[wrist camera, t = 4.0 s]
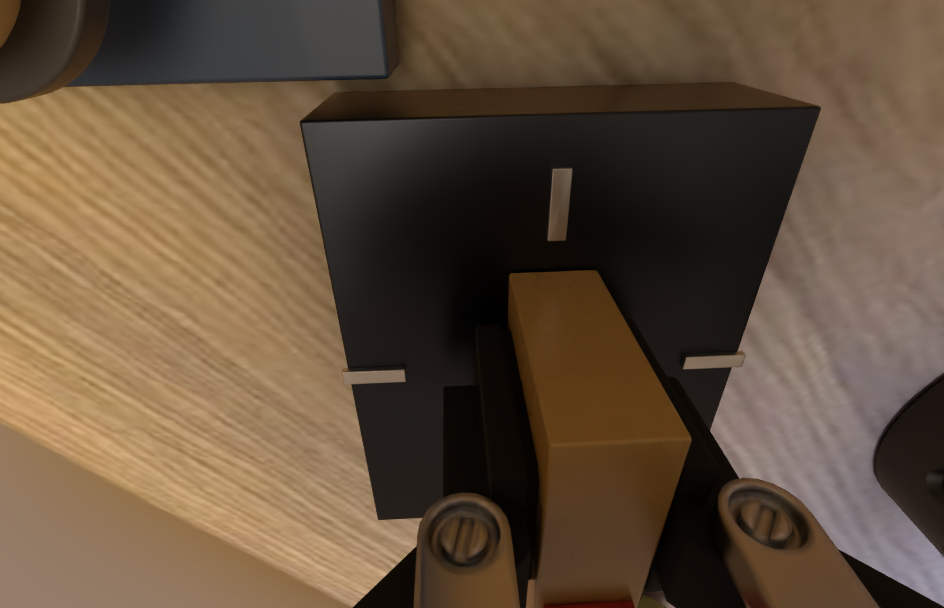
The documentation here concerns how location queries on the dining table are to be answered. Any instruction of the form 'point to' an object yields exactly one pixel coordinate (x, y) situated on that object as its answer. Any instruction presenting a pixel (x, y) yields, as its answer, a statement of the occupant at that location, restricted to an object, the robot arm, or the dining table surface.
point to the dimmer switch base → (539, 234)
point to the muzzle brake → (917, 464)
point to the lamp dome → (47, 44)
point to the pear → (649, 603)
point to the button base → (243, 42)
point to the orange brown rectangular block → (592, 442)
